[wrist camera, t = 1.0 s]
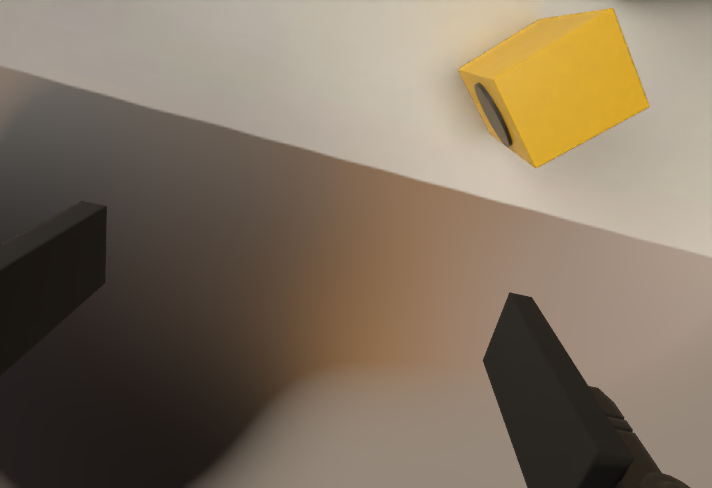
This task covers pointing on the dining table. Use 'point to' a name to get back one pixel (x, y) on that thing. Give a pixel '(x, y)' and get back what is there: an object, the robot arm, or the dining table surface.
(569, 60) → the yellow rectangular block
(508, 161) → the dining table surface
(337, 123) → the dining table surface
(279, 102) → the dining table surface
